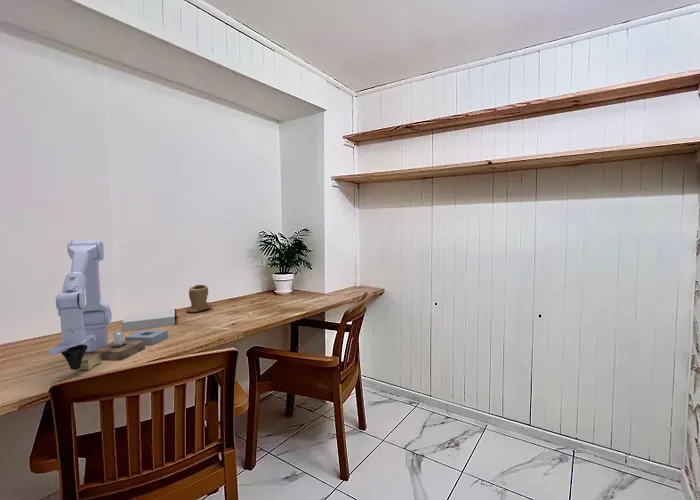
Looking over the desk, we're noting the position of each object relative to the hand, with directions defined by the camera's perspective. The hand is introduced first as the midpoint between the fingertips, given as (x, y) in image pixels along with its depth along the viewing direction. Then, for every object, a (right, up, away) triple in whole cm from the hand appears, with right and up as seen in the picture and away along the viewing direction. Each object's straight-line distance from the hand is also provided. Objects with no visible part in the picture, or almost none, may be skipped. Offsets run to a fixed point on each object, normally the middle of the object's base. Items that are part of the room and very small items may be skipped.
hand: (75, 368), depth 112 cm
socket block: (+2, 0, +18) cm, 18 cm away
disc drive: (-10, +1, +60) cm, 61 cm away
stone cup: (+3, +4, +86) cm, 86 cm away
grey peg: (+2, 0, +18) cm, 18 cm away
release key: (+1, -1, +6) cm, 6 cm away
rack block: (+4, +1, +33) cm, 33 cm away
